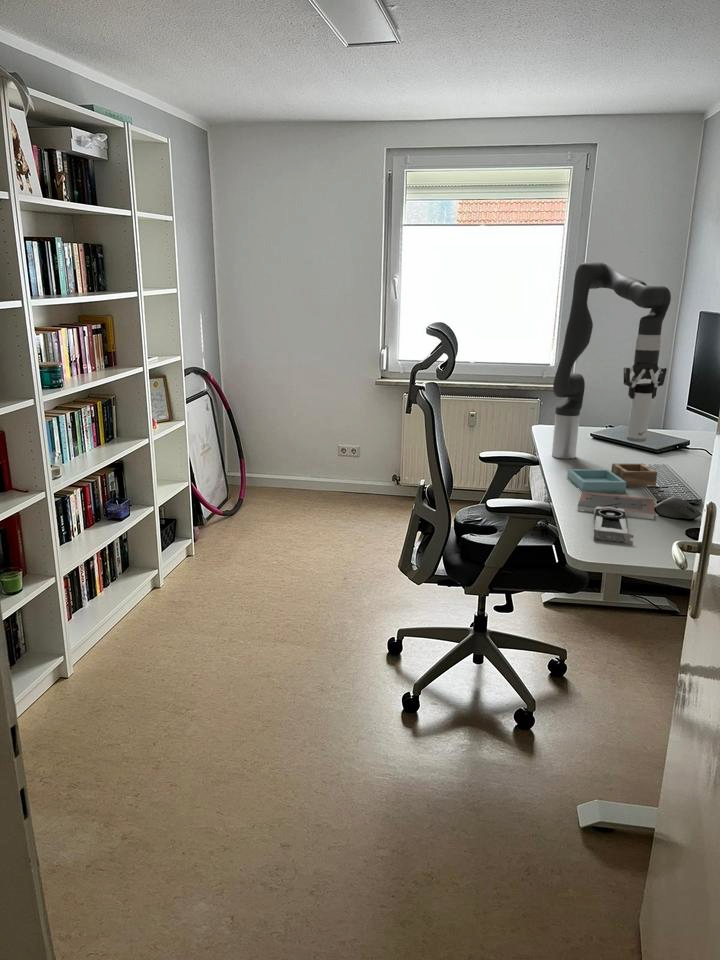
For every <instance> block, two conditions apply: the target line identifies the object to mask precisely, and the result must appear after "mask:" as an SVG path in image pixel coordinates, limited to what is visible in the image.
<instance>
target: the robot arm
mask: <svg viewBox="0 0 720 960" xmlns="http://www.w3.org/2000/svg"><path fill="white" fill-rule="evenodd" d="M573 282H574V283H573V291H572V299H571V307H570V311H569V318H568V321H567V325H566V330H565V335H564V340H563V346H562V351H561V355H560V359H559V362H558V366H557V369H556V373H555V375H554V380H553V383H552V384H553V387H552V389H553V390H552V391H553V394H554V395H555V396H556V397H557V398H566V400H565V401H564V402H563V403H561V404H559V405H556V408H555V416H554V429H553V440H552V449H551V456H552V457H553V458H558V459H563V460H567V459H570V458H571V459H575V458H576V457H577V446H578V438H579V437H578V436H579V424H580V413H581V409H582V407H583V403H584V395H585V388H586V383H585V378H584V375H582V374H580V373H577V372H576V373H573V372H572V369H573V367H574V365H575V362H576V361H577V360H578V358H580V356H581V355H582V354H583V353H584V352H585V350H586V349H587V347H588V345H589V344H590V341H591V337H592V332H593V327H594V323H593V319H592V314H591V313H590V310H589V307H588V306H589V305H588V298H589V293H590V289H593V290H595V289H609V290H612V291H614V293H615V294H616V295H617V296H619V297H620V298H623V299H625V300H628V301H630V302H632V303H633V304H635V305H636V306H637V307H639V308H643V309H650V311H649V313H648V314H647V315H644V316H643V317H641V318H640V319H639V323H638V333H637V336H636V337H637V338H636V343H635V350H634V359H633V365H632V366H631V367H625V366H624V367H623V385H625V386H628V394H627V395H628V397H629V399H631V400H632V399H634V395H635V388H634V387H635V385H636V384H638V383H639V382H640V380H645V379H646V380H648V381H649V383H655V385H654V386H653V390H652V399H651V400H653V399H655V397H656V396H657V391H658V387H661V386H664V383H665V379H666V377H667V376H666V375H667V369H668V368H667V367H662V366H661V367H659V365H658V364H659V358H660V351H661V341H662V340H661V338H662V337H661V335H662V328H663V323H664V322H663V321H664V319H665V317H666V314H667V312H668V309H669V308H670V307H669V306H670V304H671V300H672V294H671V291H670V289H669V288H668V287H667V286H663V285H662V286H661V285H659V286H658V285H651V286H650V285H648V284H647V283H646V282H644V281H643V280H640V279H637V278H635V277H631V276H628V275H625V274H622V273H621V272H619V271H617V270H615V268H612V267H611V266H610V265H608V264H606V263H604V262H601V261H600V262H599V261H597V262H596V261H595V262H593V261H592V262H591V261H589V262H588V261H586V262H582V263H580V264H579V265H578V267H577V269H576V271H575V274H574V281H573ZM571 372H572V373H571ZM632 372H633V376H632V377H631V374H632ZM657 372H658V377H657V378H656V375H655V374H656V373H657ZM571 459H570V460H571Z"/></svg>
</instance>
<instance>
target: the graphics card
mask: <svg viewBox="0 0 720 960" xmlns="http://www.w3.org/2000/svg"><path fill="white" fill-rule="evenodd" d="M628 528H629V527H628V522H627V516H626V514H625V511H624V510H623V509H619V508H617V509H615V508H612V507H604V508H603V507H596V508H595V509H594V512H593V541H594V540H596V541H597V540H599V541H603V542H604V541H608V542H616V543H624V544H630V545H633V544H634V543H633V542H634V541H633V540H630V539H634V534H631V533H629V529H628Z"/></svg>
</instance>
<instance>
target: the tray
mask: <svg viewBox="0 0 720 960" xmlns="http://www.w3.org/2000/svg"><path fill="white" fill-rule="evenodd" d="M566 476H567V477H566V479H567V478H568V479H569V480H570V481H571V482H572V483H573V484H574V485H575V487H576V488H577V489H578V488H579V489H580V490H581V491H583V492H593V493H626V489H627V486H626V482H625V481H624V480H623V479H621V478H620V477H618V476H617V475H615V474H614V473H612V472H611V470H610V469H567V475H566ZM568 479H567V480H568ZM569 480H568V481H569ZM570 481H569V482H570ZM571 482H570V483H571ZM572 483H571V484H572ZM573 484H572V485H573ZM574 485H573V486H574ZM579 489H578V490H579ZM580 490H579V491H580ZM581 491H580V492H581Z"/></svg>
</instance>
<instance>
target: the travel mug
mask: <svg viewBox="0 0 720 960" xmlns="http://www.w3.org/2000/svg"><path fill="white" fill-rule="evenodd" d="M654 385H655V383H650V382H649V383H648V382H647V383H646V382H644V383H637V384H636V385H635V387H634V388H635V395H634V399H631V402H630V410H629V418H628V424H627V426H628V427H627V434H626V440H627V441H629V442H633V443H634V442H635V443H644V442H646V441H647V436H648V428H649V422H650V421H649V420H650V413H651V406H652V405H651V404H652V400H653V399H652V390H653V386H654Z"/></svg>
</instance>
